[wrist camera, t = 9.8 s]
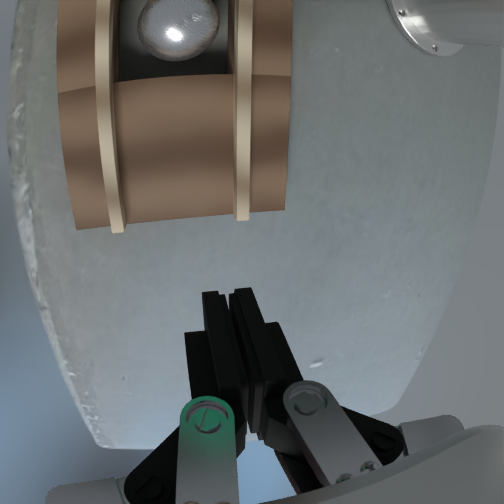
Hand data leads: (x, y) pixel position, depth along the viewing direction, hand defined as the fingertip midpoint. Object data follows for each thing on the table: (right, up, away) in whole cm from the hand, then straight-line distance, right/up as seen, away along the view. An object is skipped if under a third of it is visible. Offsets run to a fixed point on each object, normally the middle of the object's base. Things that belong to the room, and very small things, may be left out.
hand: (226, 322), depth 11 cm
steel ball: (-4, +19, +7) cm, 21 cm away
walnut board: (-6, +16, +12) cm, 21 cm away
